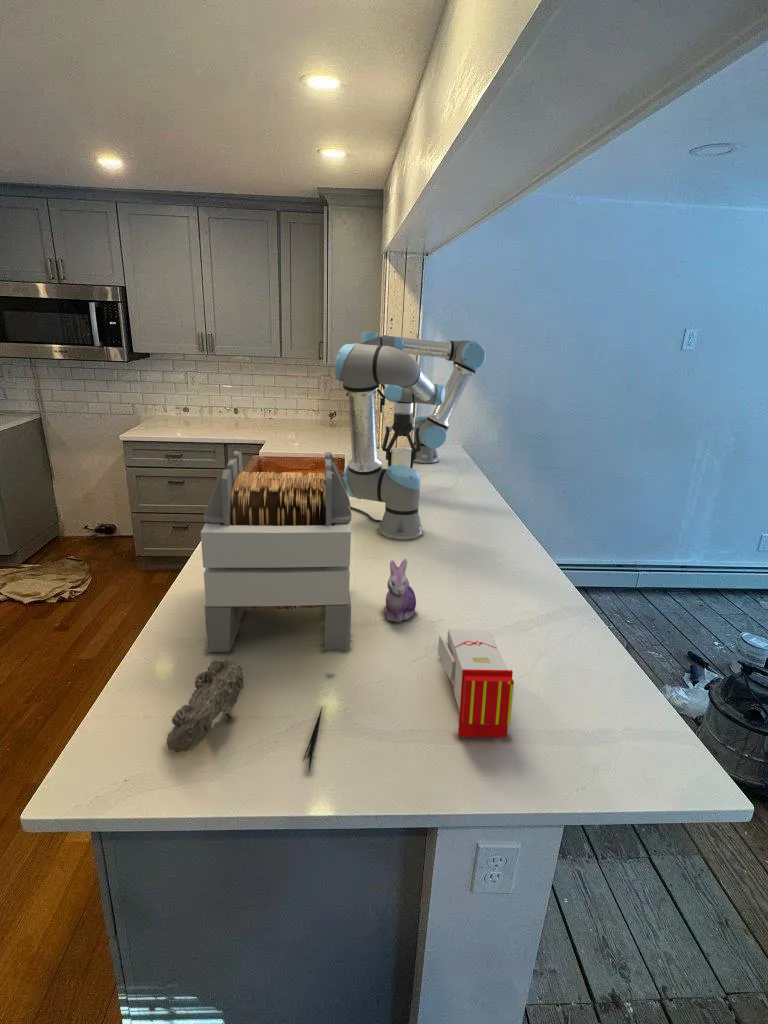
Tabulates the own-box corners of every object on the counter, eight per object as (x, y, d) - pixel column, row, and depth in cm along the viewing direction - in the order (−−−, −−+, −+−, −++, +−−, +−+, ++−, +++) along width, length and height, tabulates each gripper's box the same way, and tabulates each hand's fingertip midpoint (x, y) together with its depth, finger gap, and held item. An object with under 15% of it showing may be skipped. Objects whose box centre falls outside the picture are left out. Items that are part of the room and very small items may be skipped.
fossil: (192, 660, 117) (244, 628, 112) (224, 691, 120) (276, 661, 115) (142, 746, 98) (202, 712, 93) (182, 779, 101) (242, 748, 96)
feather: (331, 679, 122) (336, 673, 122) (307, 777, 96) (313, 769, 95) (324, 675, 122) (329, 669, 121) (298, 772, 95) (304, 764, 95)
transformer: (227, 584, 158) (219, 441, 145) (344, 583, 162) (347, 443, 148) (205, 654, 127) (191, 480, 113) (351, 650, 130) (355, 481, 117)
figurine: (392, 627, 141) (395, 572, 136) (374, 608, 149) (376, 556, 144) (425, 619, 145) (429, 566, 140) (405, 601, 154) (408, 550, 149)
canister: (411, 473, 239) (413, 449, 235) (407, 478, 231) (409, 453, 228) (392, 471, 241) (393, 446, 237) (387, 476, 233) (388, 451, 229)
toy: (488, 613, 130) (523, 677, 101) (484, 667, 133) (517, 744, 104) (435, 612, 130) (455, 676, 101) (432, 666, 133) (451, 743, 103)
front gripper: (427, 412, 233) (423, 465, 240) (375, 410, 229) (373, 465, 237) (431, 415, 226) (427, 470, 233) (378, 413, 222) (375, 469, 230)
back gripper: (341, 366, 260) (341, 412, 268) (395, 368, 263) (393, 413, 270) (341, 364, 268) (340, 409, 275) (394, 366, 270) (392, 411, 277)
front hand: (400, 467), depth 235 cm, fingers closed on canister, 8 cm apart
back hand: (367, 411), depth 272 cm, fingers open, 13 cm apart
